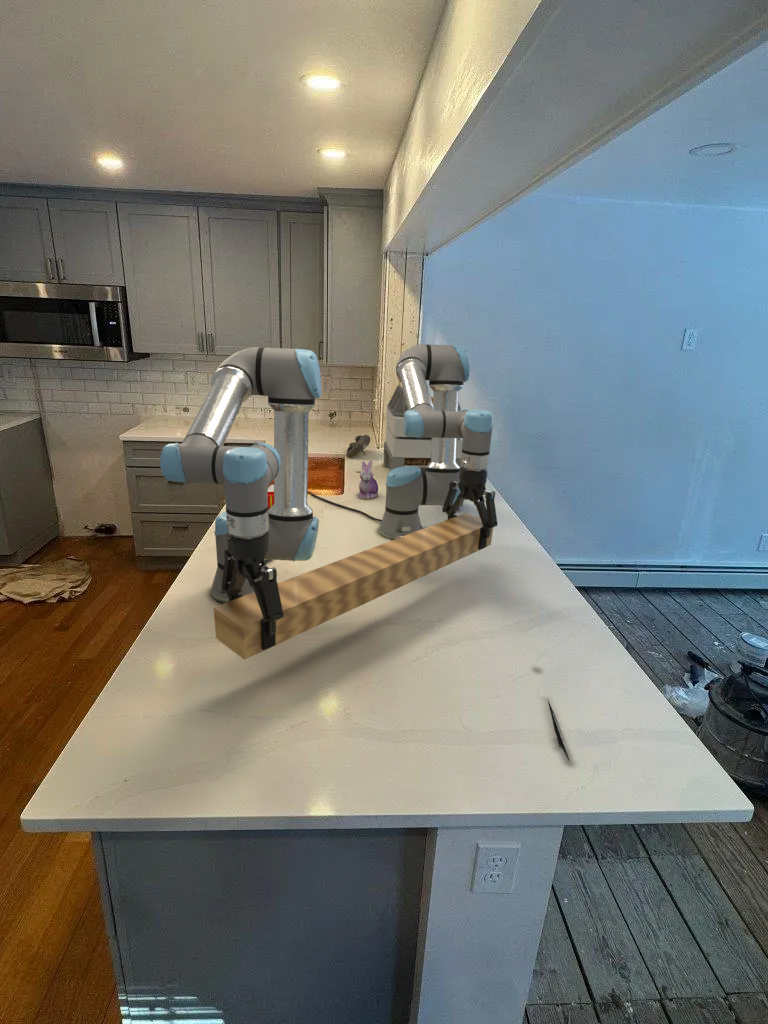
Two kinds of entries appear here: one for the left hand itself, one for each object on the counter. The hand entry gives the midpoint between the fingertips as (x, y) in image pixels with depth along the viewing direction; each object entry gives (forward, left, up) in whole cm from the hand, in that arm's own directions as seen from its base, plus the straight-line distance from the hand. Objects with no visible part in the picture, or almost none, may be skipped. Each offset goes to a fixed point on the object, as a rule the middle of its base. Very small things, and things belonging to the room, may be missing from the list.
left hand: (252, 635), depth 112 cm
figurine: (-118, +56, -13) cm, 131 cm away
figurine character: (-100, +87, -13) cm, 133 cm away
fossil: (-188, +69, -13) cm, 201 cm away
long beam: (-18, +31, -1) cm, 36 cm away
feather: (+21, +56, -13) cm, 62 cm away
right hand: (-36, +63, 0) cm, 72 cm away
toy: (-99, +17, -13) cm, 101 cm away
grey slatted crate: (-148, +90, -13) cm, 174 cm away
